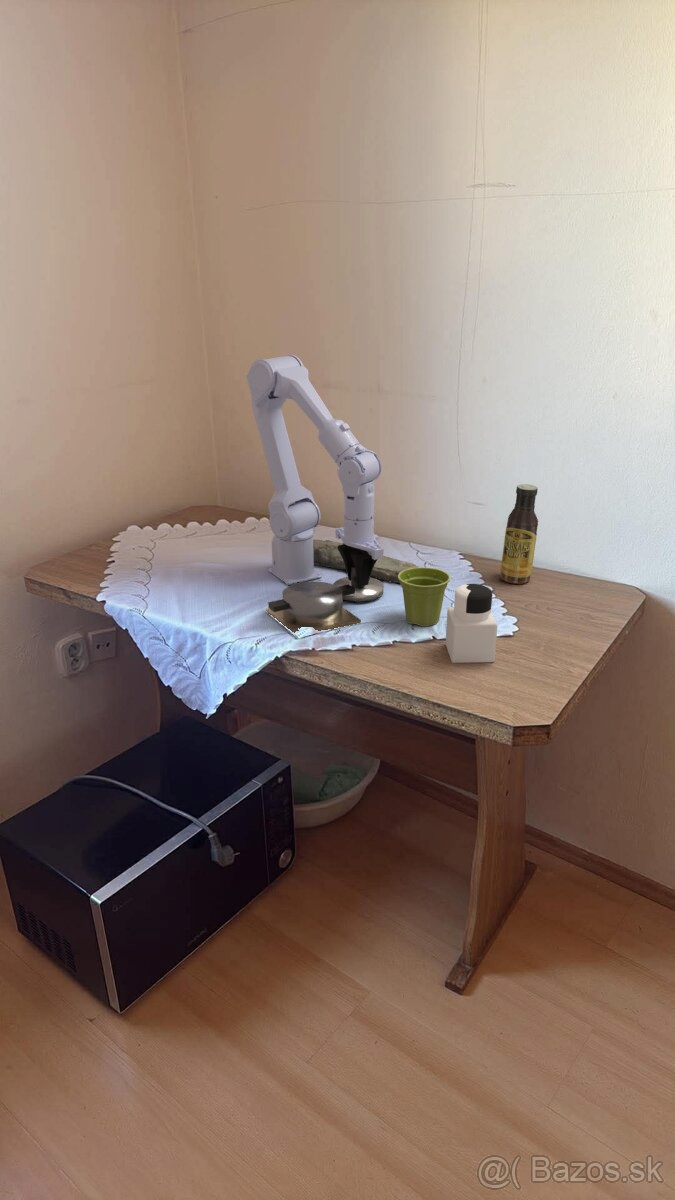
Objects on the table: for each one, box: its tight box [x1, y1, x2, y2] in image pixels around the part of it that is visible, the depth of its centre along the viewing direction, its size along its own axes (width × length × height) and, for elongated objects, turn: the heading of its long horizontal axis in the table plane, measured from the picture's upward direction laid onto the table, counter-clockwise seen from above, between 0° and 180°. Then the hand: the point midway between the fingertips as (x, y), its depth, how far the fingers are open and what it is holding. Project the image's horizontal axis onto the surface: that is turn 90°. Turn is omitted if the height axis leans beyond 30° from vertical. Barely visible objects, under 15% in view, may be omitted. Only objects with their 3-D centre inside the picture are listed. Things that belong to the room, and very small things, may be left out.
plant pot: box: [398, 566, 451, 627], centre depth 146 cm, size 9×9×9 cm
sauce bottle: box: [500, 483, 539, 585], centre depth 161 cm, size 6×6×20 cm
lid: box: [332, 565, 384, 602], centre depth 157 cm, size 10×10×5 cm
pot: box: [265, 580, 362, 633], centre depth 148 cm, size 13×17×5 cm
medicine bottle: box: [445, 583, 498, 664], centre depth 133 cm, size 7×7×12 cm
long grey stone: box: [313, 538, 419, 585], centre depth 172 cm, size 35×5×10 cm
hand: (358, 582), depth 158 cm, fingers closed on lid, 3 cm apart
